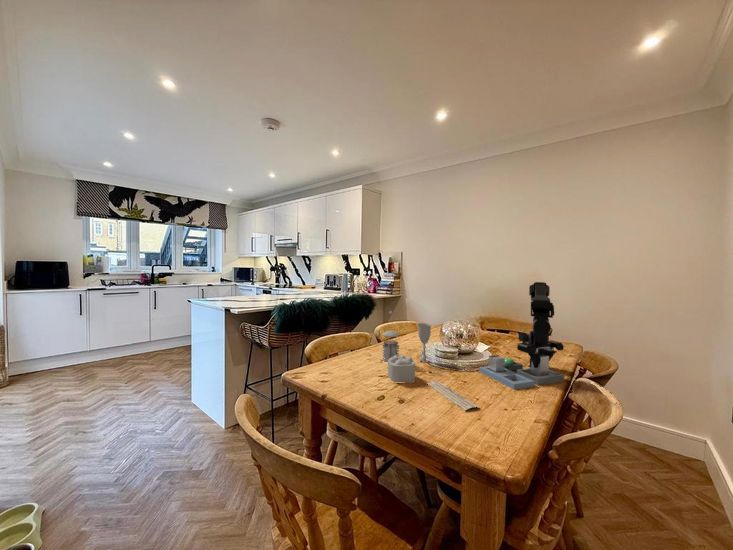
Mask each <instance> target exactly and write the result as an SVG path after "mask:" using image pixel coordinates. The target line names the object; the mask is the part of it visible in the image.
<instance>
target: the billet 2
mask: <svg viewBox="0 0 733 550" xmlns="http://www.w3.org/2000/svg"><path fill="white" fill-rule="evenodd" d="M530 368H531V373H533V374H535V375H538V376H540V377H541V376H548V375H549V370H550V361H549V356H548V355H544V354H542V353H541V355H540V359H539V363H538V366H537V368H534V366H533V363H532V364H531V367H530Z"/></svg>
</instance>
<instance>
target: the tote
mask: <svg viewBox="0 0 733 550" xmlns="http://www.w3.org/2000/svg"><path fill="white" fill-rule="evenodd" d="M516 373H517V374H519V375H522V376H524V377H526V378H528V379H531V380H533V381H535V386H541V385H542V386H543V385H547V384H555V383H556V384H557V383H562V382H565V374H562V373H559V372H558V371H554V370H552V369H549V375H548V376H541V377H540V376H538V375H535V374H533V373H531V367H529V368H523V369H520V370H517V371H516Z"/></svg>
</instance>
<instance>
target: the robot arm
mask: <svg viewBox="0 0 733 550" xmlns="http://www.w3.org/2000/svg"><path fill="white" fill-rule="evenodd" d="M550 294H551V293H550V286H549V285H547V283H546V282H545V281H540V282H539V281H535V282H533V284H530V285H529V291H528V296H530V317H532V330H530V331H529V334H525V333H523V332H522V333H518V341H519V342H520V343H518V344H517V345H516V346H517V351H520V352H523V353H526V354H528V355H529V357H530V358H529V365H527V367H529V368H531V364H532V363H533V366H534V368H537V366H538V363H539V359H540V355H541V353H542V354H544V355H548V356H549V362H550V361H551V360H552V358H553V357H554V356H555V354H557V352H558V351H564V346H565V345H564V344H563V343H562V342H559V341H556V340H549V339H550V337H551V336H552V333H551V332H550V331H551V330H552V328H551V327H552V326H551V324H550V318H551V319H552V318H554V316H555V305H554V304H553V302H551V299H550ZM554 348H555V349H554Z"/></svg>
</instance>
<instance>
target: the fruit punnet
mask: <svg viewBox="0 0 733 550" xmlns="http://www.w3.org/2000/svg"><path fill="white" fill-rule="evenodd" d="M388 377H389V378H390V379H391V380H392V381H394V382H413V381H414V380H415V379H416V363H415V361H414V360H413V358H412V357H411V356H407V357H405V355H403V354H400V355H399V356H397V355H395V356H394V357H391V358H390V359H389V360H388V365H387V378H388ZM389 378H388V379H389ZM415 381H416V380H415ZM413 383H414V382H413Z"/></svg>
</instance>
